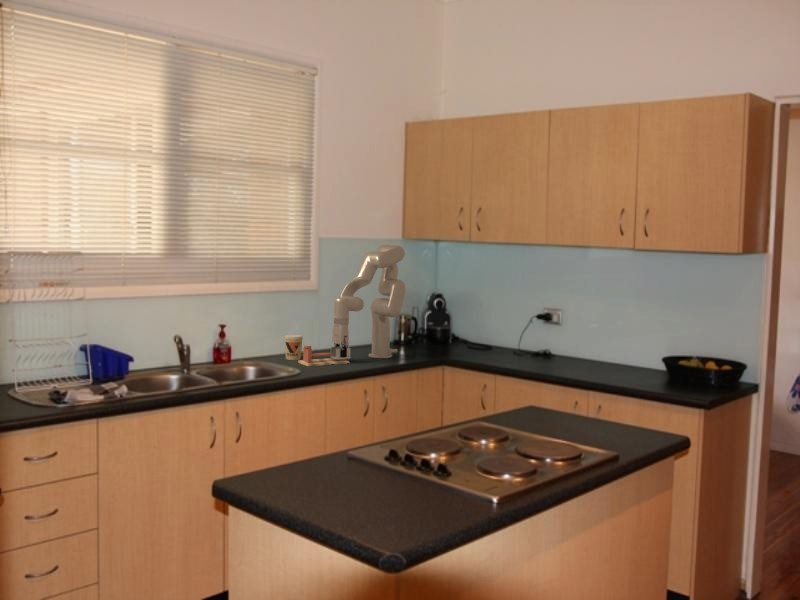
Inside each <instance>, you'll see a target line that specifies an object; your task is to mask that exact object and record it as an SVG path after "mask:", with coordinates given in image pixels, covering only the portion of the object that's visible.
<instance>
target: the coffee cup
mask: <svg viewBox="0 0 800 600" xmlns="http://www.w3.org/2000/svg"><path fill="white" fill-rule="evenodd" d="M303 339H304V337H303V335H301V334H286V335H285V336H284V347H285V348H284V349H285V350H284V351H285V360H289V361H298V360H302V352H303V351H302V349H303V348H302V347H303Z"/></svg>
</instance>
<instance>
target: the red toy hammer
mask: <svg viewBox="0 0 800 600" xmlns="http://www.w3.org/2000/svg"><path fill="white" fill-rule="evenodd" d="M302 347H303V348H302V349H303V351H302V353H303V357H302V360H303V361H304V362H306V363H312V360H313V358H316V357H329V356H330V357H331V352H317V353H313V349H312V346H311V345H304V346H302Z"/></svg>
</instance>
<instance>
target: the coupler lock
mask: <svg viewBox="0 0 800 600" xmlns="http://www.w3.org/2000/svg"><path fill="white" fill-rule="evenodd" d="M341 350H342V348H341V346H340V347H334V346H331V347H330V353H331V356H330V358H333V359H336V360H337V359H344V360H349V359H351V347H349V346H348V347H347V357H345V358H341Z"/></svg>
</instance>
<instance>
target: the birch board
mask: <svg viewBox="0 0 800 600" xmlns="http://www.w3.org/2000/svg"><path fill="white" fill-rule="evenodd" d="M297 363H299V364H301V365H303V366H306V367H317V366H330V365H331V364H335V365H346V364H347V363H349V364H350V361H349V360H347V359H337V360H336V359H333V358H331V357H329V358H317V359H313V358H312V363H306V362H304V361H303V359H299V360H297ZM347 365H348V364H347ZM331 366H332V365H331Z"/></svg>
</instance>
